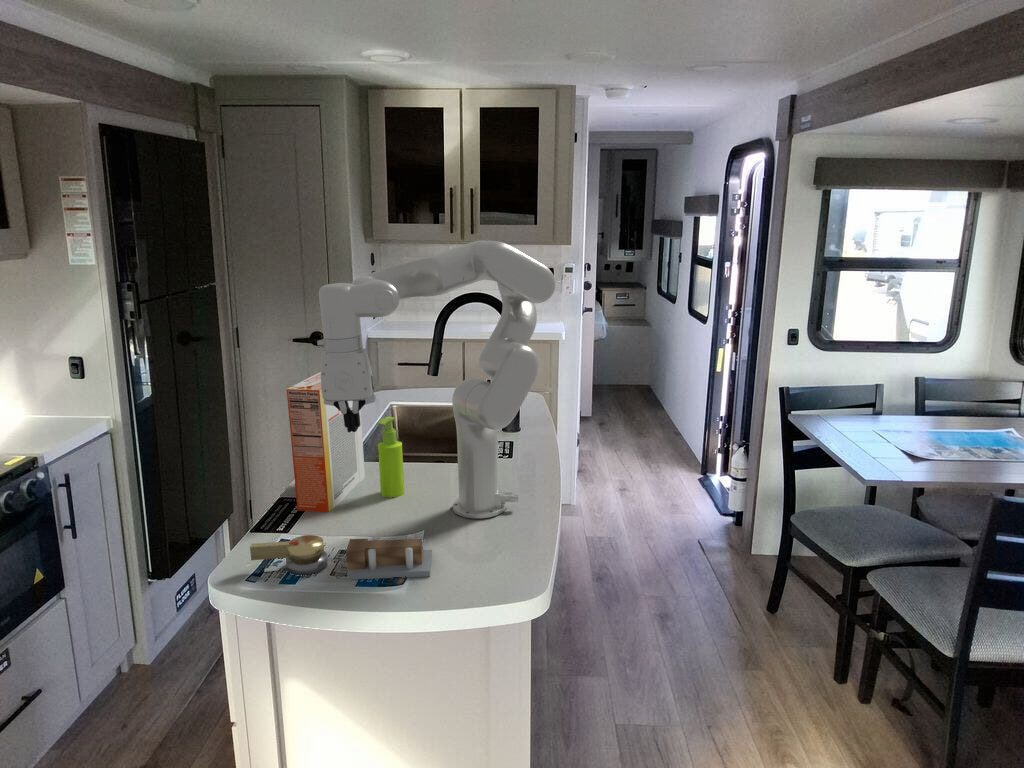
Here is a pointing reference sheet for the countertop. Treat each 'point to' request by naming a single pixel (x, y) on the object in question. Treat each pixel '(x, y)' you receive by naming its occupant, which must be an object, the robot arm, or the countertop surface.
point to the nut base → (304, 566)
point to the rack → (393, 566)
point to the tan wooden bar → (382, 552)
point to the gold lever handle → (290, 549)
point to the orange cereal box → (322, 448)
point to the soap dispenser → (390, 461)
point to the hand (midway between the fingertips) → (353, 430)
